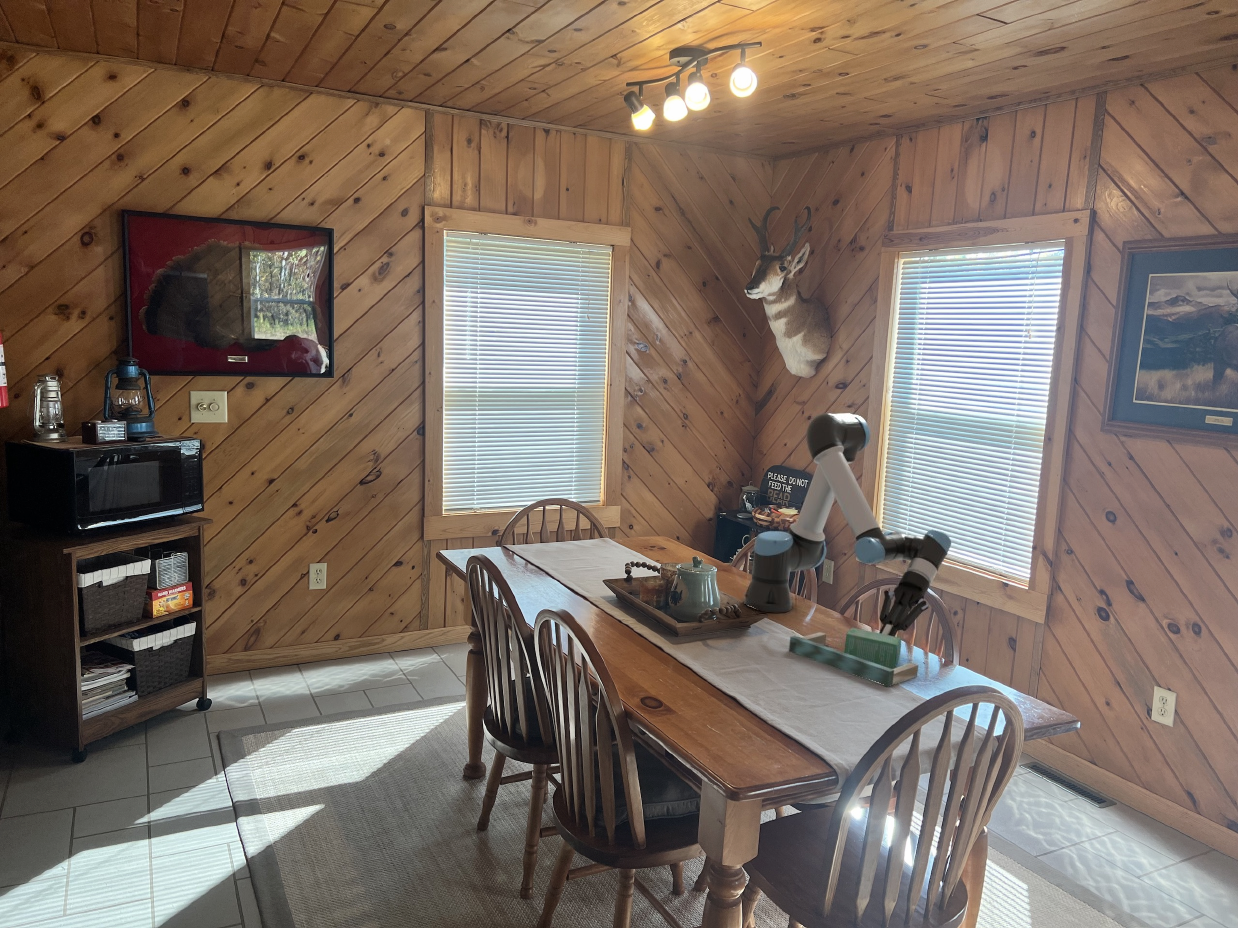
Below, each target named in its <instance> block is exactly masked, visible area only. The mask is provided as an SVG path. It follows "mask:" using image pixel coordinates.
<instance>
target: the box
mask: <svg viewBox="0 0 1238 928" xmlns="http://www.w3.org/2000/svg"><path fill="white" fill-rule="evenodd" d="M844 643H845V645H844V651H843V652H844V653H847V654H849V655H852V656H855V657H858V658H861V659H864V660H867V661H870V662H873V663H875V664H878V665H881V666H884V667H887V668H890V669H895V668H897V665H898V663H899V660H900V656H901V649H902V638H901V637H898V636H895V637H894V636H889V635H884V634H880V633H879V632H875V631H870V630H865V629H859V628H855V627H851V628H850V629H849V630H848V631H847V632H846V637H845V642H844Z"/></svg>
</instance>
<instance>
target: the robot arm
mask: <svg viewBox="0 0 1238 928" xmlns="http://www.w3.org/2000/svg"><path fill="white" fill-rule="evenodd" d="M805 436H806V437H805V439H806V445H807V449H808V452H809V455H810V456H811V458H812V460H813V462H814V464H817V466H816V468H815V471H814V474H813V476H812V480H811V483H810V485H809V487H808V490H807V493H806V494H805V495H806V496H805V498H804V500H803V504H802V507H801V510H800V512H799V515H798V517H797V521H796V522H793V523H791V524H790V526H789V529H788V531H787V532H785V531H777V530H775V531H773V530H771V531H770V530H769V531H764V532H761V533H759V534H758V535H756V538H755V542H754V546H753V558H752V571H751V580H750V582H749V584H748V588H747V589H746V592H745V594H744V597H743V605H744V604H746V605H749V606H752V607H754V608H756V609H758V610H757V611H759V610H762V611H761V612H765V613H774V614H775V613H778V614H779V613H787V612H790V611H791V610H792V607H793V600H792V597H791V590H790V587H789V580H790V573H792V572H797V571H808V570H811V569H814V568H816V567H818V566H820V565H821V564H822V563H823V561H824V560H825V557H826V555H827V546H826V541H825V539H826V535H825V533H824V532H823V530H824V527H825V525H826V523H827V519H828V517H829V514H830V512H831V509H832V506H833V504H834V501H835V499H836V501H837V503H838V505H839V508H840V509H841V512H842V514H843V515H844V518H845V520H846V522H847V524H848V526H849V529H850V531H851V532H852V535H853V536H854V538H855V540H856V543H855V545H854V554H855V557H856V559H857V560H858V561H860V562H861V563H862V564H866V565H867V564H868V565H870V564H872V565H877V564H880V563H885V562H892V561H898V560H899V561H900V560H903V561H904V560H905V561H908V562H909V561H910V562H909V563H908V566H907V567H906V569H905V572H904V573H903V574H902V577H901V578H900V580H899V583H898V585H897V586H896V587H895V588H894V590H891V591H889V590H888V589H887V590H884V591H883V595H884V599H883V603H882V607H881V610H880V614H879V618H878V619H879V621H880V623H881V624H882V627H881V628H880V630H879V631H878V633H880V634H884V635H889V636H894V637H896V635H897V634H898V632H900V631H903V632H906V631H907V630H908V629H909V628H910V627H911V626H912V624H913V623H914V622H915V621H916V619H917V618H919V616H921V614H922V613H923V612H924V611H926V610H928V609H929V608H930V607H929V605H928V603H927V601H926V600H925V597H924V596H926V594H927V592H928V590H929V588H930V586H931V584H932V582H933V581H934V579H935V576H936V575H937V574H938V573H937V572H938V571H939V568H940V567H941V565H942V564H943V562H944V560H945V558H946V556H948V553H949V550H950V548H951V546H952V541H951V538H950V536H948V535H947V533H945V532H943V531H941V530H939V529H935V528H934V529H928V530H927V532H925V534H924V535H923V536H921V535H914V534H910V533H909V534H907V533H902V532H898V531H884V532H883V531H882V529H881V527H880V526H879V523H878V521H877V519H876V517H875V515H874V513H873V511H872V509H871V507H870V505H869V503H868V501H867V499H866V497H865V495H864V493H863V491H862V489H861V487H860V485H859V483H858V481H857V478H856V477H855V475H854V473H853V471H852V469H851V467H850V465H851V464H852V463H854V462H855V460H856V458H857V454H858V452H861V451H863V450H864V449H865V448H867V446H868V445H869V443H870V439H871V430H870V427H869V424H868V423H867V421H866V420H865V419H864V418H863V417H862V416H860V415H859V414H852V413H849V412H846V413H830V412H825V413H821V414H819V415H816V416H814V417H813V419H812V420H811V421H810V422H809V424H808V426H807V428H806V432H805ZM849 464H850V465H849ZM894 598H895V599H894ZM892 601H894V602H893V605H892ZM746 605H745V606H746ZM891 606H892V607H891Z"/></svg>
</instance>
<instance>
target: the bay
mask: <svg viewBox="0 0 1238 928" xmlns="http://www.w3.org/2000/svg"><path fill="white" fill-rule="evenodd" d="M826 642H827V633H825V632H819V631H818V632H816V633H812V634H808V635H804V636H801V637H800V636H797V635H792V636H790V637H789V645H788V646H789V648H788V652H791V653H793V654H796V655H798V656H802V657H804V658H806V659H809V660H812V661H816V662H818V663H821V664H822V665H823V664H824V665H825V666H829V667H832V668H833V669H837V670H840V671H842V670H843V672H846V673H847V674H850V673H851V675H853V674H854V675H853V676H856V675H857V676H856V677H859V676H860V677H859V678H861V677H863V678H862V679H864V678H867V679H870V680H873V681H876V682H879V683H881V684H884V685H885V686H884V687H886V686H890V685H893V684H895V685H897V683H898V684H901V683H903V682H905V681H908V680H911V679H914V678H917V677H918V673H919V664H917V663H914V662H909V663H907V664H904V665H901V666H896V667H895V669H890V668H887V667H884V666H881V665H878V664H875V663H873V662H870V661H867V660H864V659H861V658H858V657H855V656H852V655H849V654H847V653H844V651H841V650H839V649H835V648H832V647H829V646H826ZM867 679H866V680H867ZM870 680H869V681H870ZM881 684H880V685H881ZM893 686H894V685H893ZM890 687H891V686H890Z"/></svg>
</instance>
